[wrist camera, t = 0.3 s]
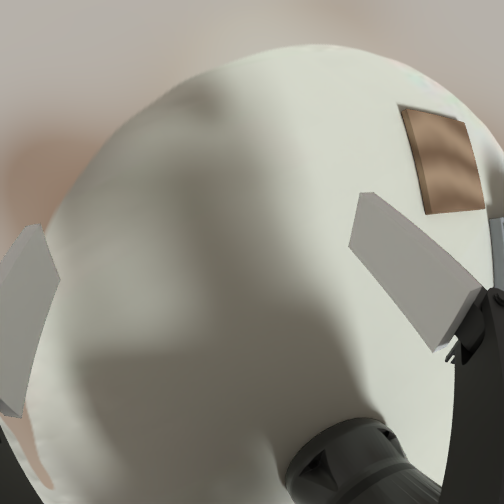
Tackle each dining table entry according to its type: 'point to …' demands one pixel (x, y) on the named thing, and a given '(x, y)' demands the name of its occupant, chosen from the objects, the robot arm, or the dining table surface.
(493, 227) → the grey flat open frame
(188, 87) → the dining table surface
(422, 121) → the walnut board
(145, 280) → the dining table surface
